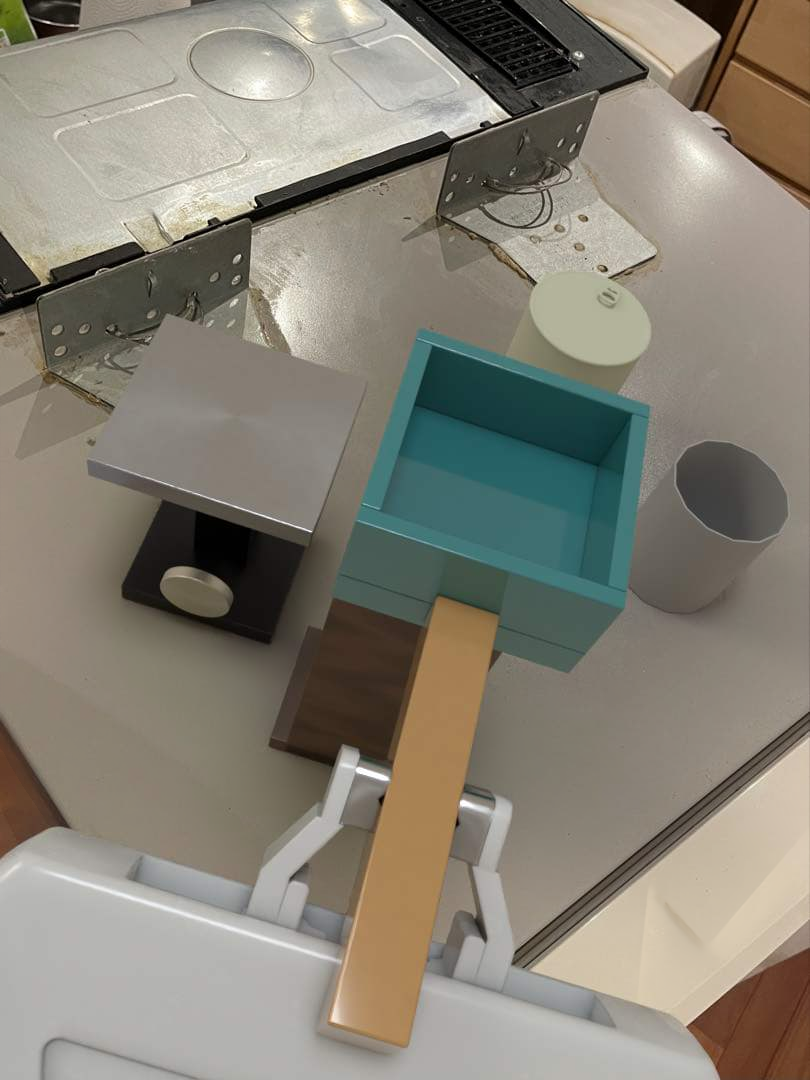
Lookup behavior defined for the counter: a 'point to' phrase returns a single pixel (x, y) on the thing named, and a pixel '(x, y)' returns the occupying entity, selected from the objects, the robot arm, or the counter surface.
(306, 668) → the plinth
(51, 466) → the counter surface
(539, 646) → the teal handled box
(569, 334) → the can
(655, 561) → the cup
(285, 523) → the scale
